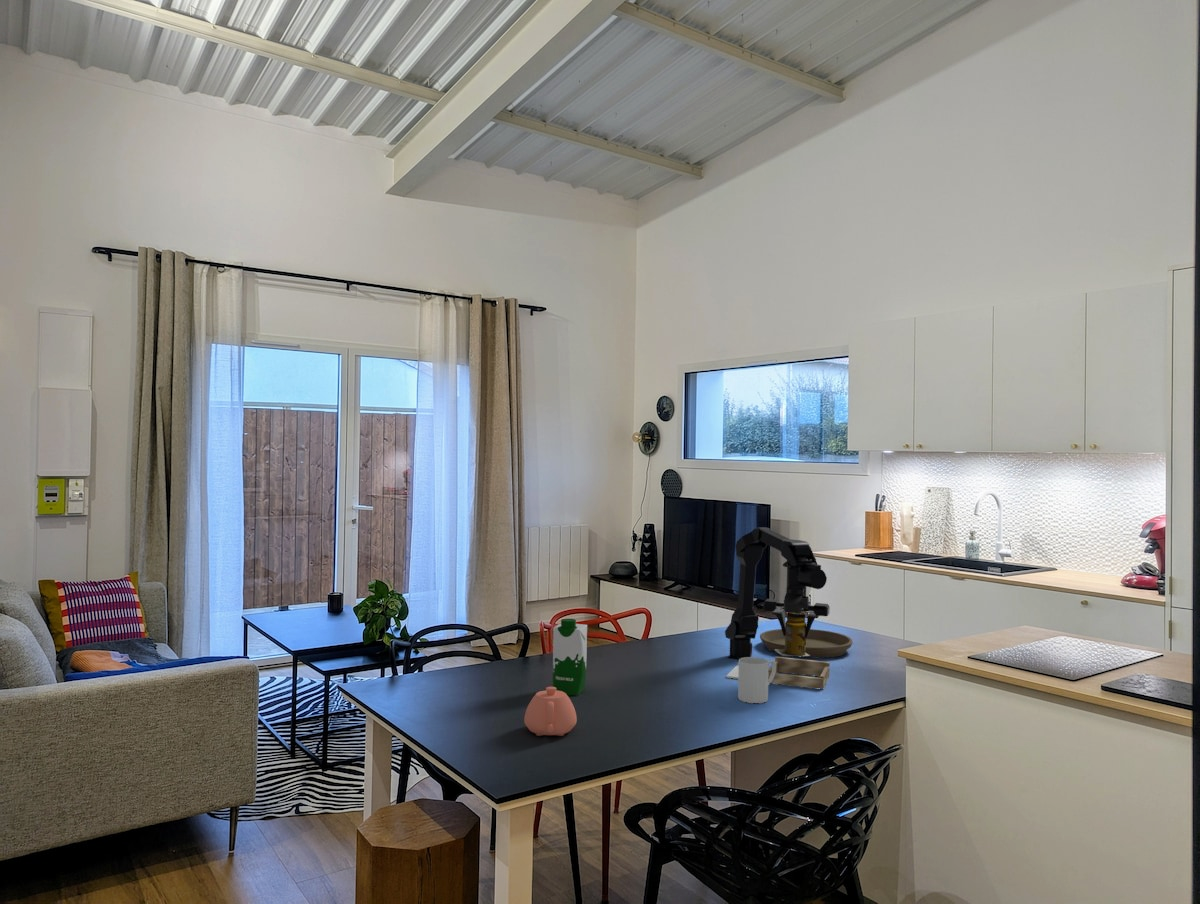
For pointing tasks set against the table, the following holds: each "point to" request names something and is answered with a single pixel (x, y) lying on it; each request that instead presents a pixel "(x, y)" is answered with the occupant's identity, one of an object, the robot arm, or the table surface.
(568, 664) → the milk carton
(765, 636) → the plant saucer
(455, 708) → the table surface
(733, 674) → the grey mat
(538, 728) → the sugar bowl
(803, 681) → the pine frame
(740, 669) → the mug
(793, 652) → the condiment
